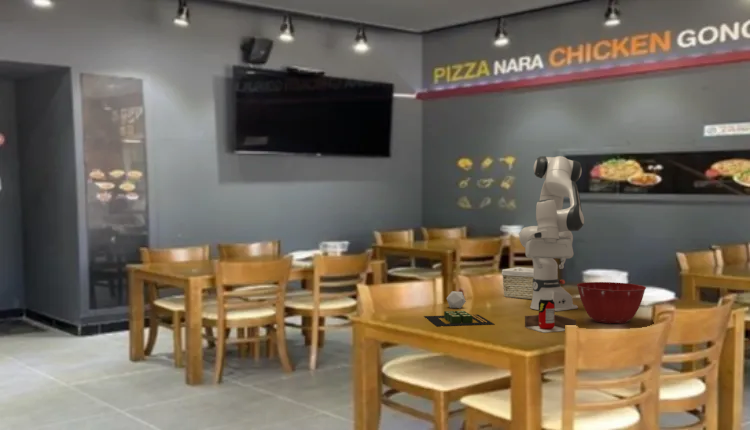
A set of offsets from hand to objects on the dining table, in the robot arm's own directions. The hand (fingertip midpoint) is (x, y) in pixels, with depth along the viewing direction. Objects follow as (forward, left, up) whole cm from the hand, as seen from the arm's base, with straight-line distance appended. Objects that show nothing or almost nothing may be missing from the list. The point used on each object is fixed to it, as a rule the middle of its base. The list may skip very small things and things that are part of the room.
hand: (550, 268), depth 329 cm
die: (+13, -57, -24) cm, 63 cm away
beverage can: (+7, +7, -23) cm, 26 cm away
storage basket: (-38, -71, -24) cm, 84 cm away
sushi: (+30, -26, -25) cm, 46 cm away
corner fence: (+6, +7, -24) cm, 25 cm away
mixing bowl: (-29, +3, -24) cm, 38 cm away
